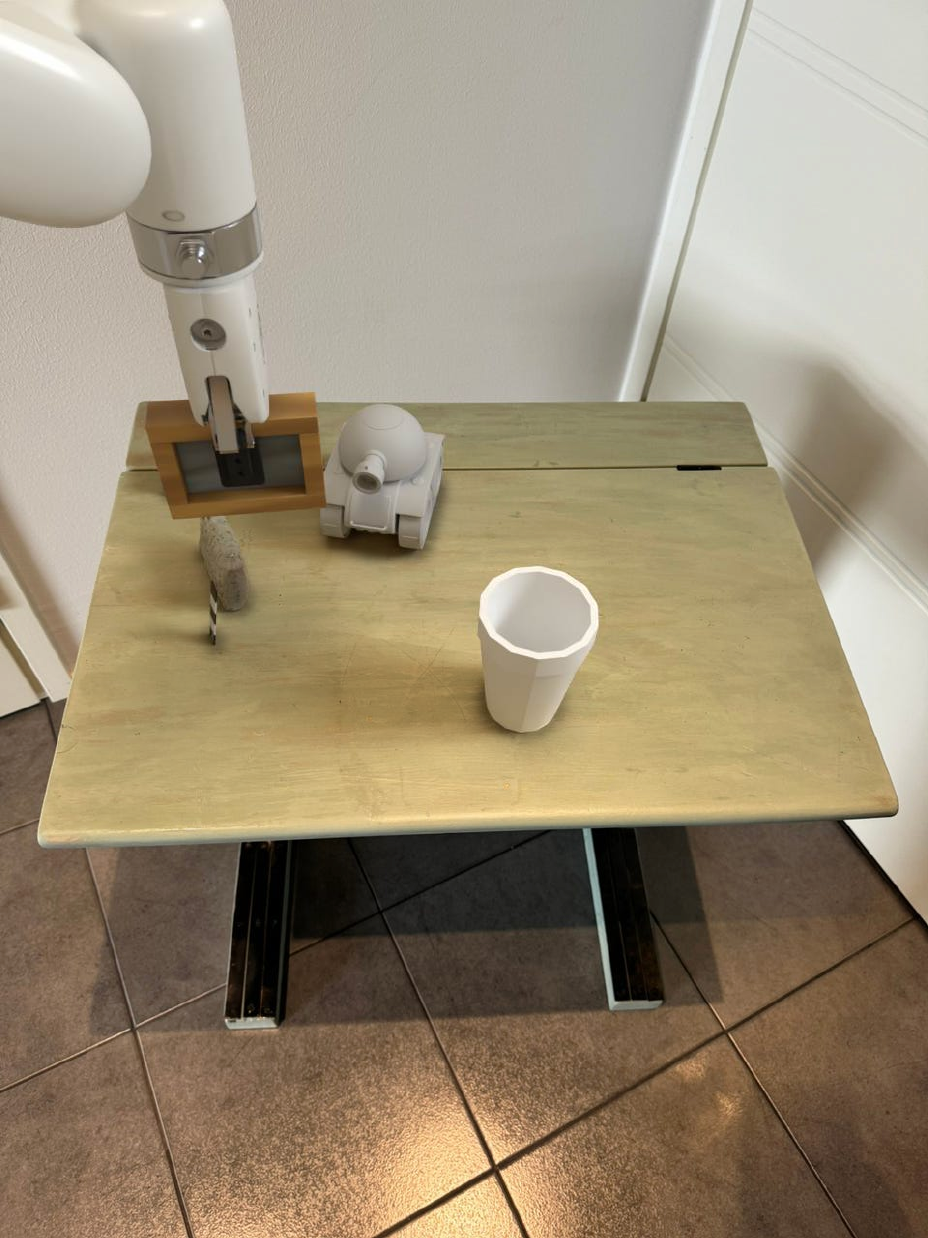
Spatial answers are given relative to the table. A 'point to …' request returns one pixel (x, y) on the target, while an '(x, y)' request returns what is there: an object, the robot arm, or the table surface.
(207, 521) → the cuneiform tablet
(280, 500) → the frame
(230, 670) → the table surface
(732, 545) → the table surface
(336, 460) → the toy tank
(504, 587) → the foam cup
